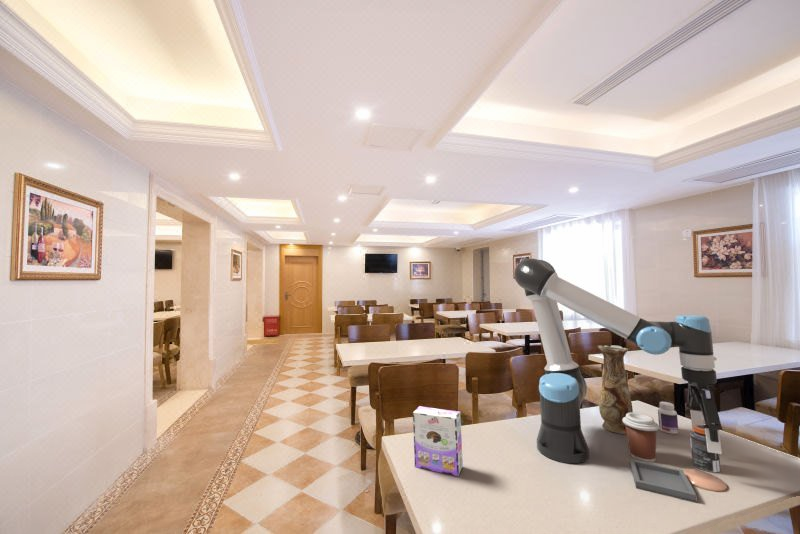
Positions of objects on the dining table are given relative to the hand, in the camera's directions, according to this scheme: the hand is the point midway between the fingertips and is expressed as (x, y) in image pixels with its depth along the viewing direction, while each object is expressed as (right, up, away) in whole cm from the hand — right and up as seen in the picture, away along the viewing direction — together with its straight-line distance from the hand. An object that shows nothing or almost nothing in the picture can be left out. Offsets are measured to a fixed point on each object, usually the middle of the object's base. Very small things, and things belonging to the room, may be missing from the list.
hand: (706, 442), depth 92 cm
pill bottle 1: (+8, -9, +22) cm, 26 cm away
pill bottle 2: (0, -7, 0) cm, 7 cm away
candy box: (-78, -10, +3) cm, 79 cm away
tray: (-19, -7, -7) cm, 21 cm away
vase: (-8, -9, +25) cm, 28 cm away
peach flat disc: (-7, -7, -6) cm, 12 cm away
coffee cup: (-14, -8, +6) cm, 17 cm away
